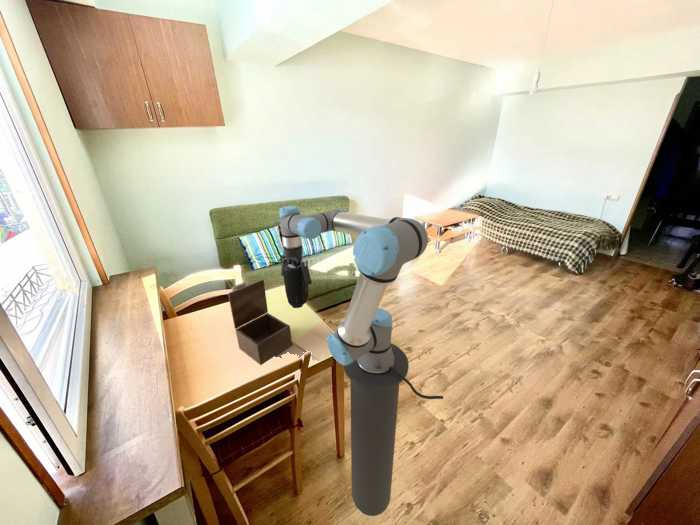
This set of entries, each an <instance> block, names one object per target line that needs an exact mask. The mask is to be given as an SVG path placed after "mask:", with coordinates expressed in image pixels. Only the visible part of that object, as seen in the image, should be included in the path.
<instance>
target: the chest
mask: <svg viewBox="0 0 700 525" xmlns="http://www.w3.org/2000/svg"><path fill="white" fill-rule="evenodd" d="M234 330H235V335H236V340H237V344H238V349H239V350H240V351H241V352H243V353H244V354H245V355H247V356H248V357H249V358H251V359H252V360H253V361H255V362H256V363H257V364H259V365H260V366H262V365H264V364H265V363H267V362H268V361H270V360H272V359H273V358H274V357H276V356H277V355H279V354H281V353H282V352H284V351H285V350H287V349H288V348H289V347H291V346H293V341H292V332H291V326H290V325H289V324H288V323H286V322H284V321H283V320H281V319H279V318H277V317H276V316H274V315H272V314H270V313H269V312H267V313H266V314H264V315H262V316H260V317H258V318H256V319H254V320H252V321H250V322H248V323H246V324H244V325H242V326H240V327H238V328H236V329H235V328H234Z"/></svg>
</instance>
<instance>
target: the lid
mask: <svg viewBox="0 0 700 525" xmlns="http://www.w3.org/2000/svg"><path fill="white" fill-rule="evenodd" d="M265 286H266V285H265V280H264V279H263V278H262V279H260V280H257V281H255V282H252V283H249V284H247V282H245V281H243V282H241V283H238V284H236V285H232V286H231V291H230V292H228V293H227V296H228V302H229V307H230V310H231V317H232V322H233V327H234V330H235V329H237V328H239V327H241V326H243V325H245V324H247V323H249V322H251V321H253V320H255V319H257V318H259V317H261V316H263V315H264V314H266V313H269V308H268V302H267V295H266V294H267V293H266V287H265Z"/></svg>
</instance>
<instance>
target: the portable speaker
mask: <svg viewBox="0 0 700 525" xmlns="http://www.w3.org/2000/svg"><path fill="white" fill-rule="evenodd" d="M300 265H301V264H300ZM300 265H299V266H297V267H295V266H293V265H292V264H288V263H287V262H286V263H285V264H284V276H283V282H284V290H285V295H286V299H287V303H288V304H289V306H291V307H292V309H301V308H302V307H303V306H304V305H305V304H306V303H307V301H308V298H306V299H305V300H303V298H302V285H303V284H302V280H301V276H303V273H302V269H301V266H300Z"/></svg>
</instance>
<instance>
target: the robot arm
mask: <svg viewBox="0 0 700 525" xmlns="http://www.w3.org/2000/svg"><path fill="white" fill-rule="evenodd" d="M278 213H279V223H280V232H281V240H282V241H281V242H282V246H283V247H282V249H283V250H282V251H283V255H281V271H280V275H281V277H284V264H285V263H286V262H287V263H288V264H292V265H293V266H295V267H297V266H299V265H300V264H301V265H300V266H301V269H302V273H303V276H301V280H302V284H303V285H302V298H303V300H305V299H306V298H307V299H308V298H309V291H310V290H309V286H310V285H312V283H313V282H312V277H311V272H310V269H309V263H308V260H303V257H302V256H303V254H304V248H303V245H302V244H303V239H308V240H315V239H316V238H318V236H320V235H321V234H323V233H328V232H336V233H342V234H345V235H346V234H347V235H351V236H355V237H356V239H355V241H354V244H353V249H352V255H353V256H354V258H353V260H354V263H355V265H356V268H357V270H358V272H359V274H358V278H357V281H356V285H355V287H354V290H353V294H352V296H351V300H350V303H349V306H348V308H347V311H346V314H345V317H344V318H342V319H341V320H340V321H339V322H338V325H337V328H336V331H335V332H333V333H330V334H329V335H328V336H327V338H326V344H327V348H328V351H329V353H330V355H331V356H332V357H333V359H334V360H335V361H336V362H337V363H338V364H339V365H341V366H342V367H343V366H347V365H349V364H351V363H353V362H354V361H355V360H357V364H358V366H359V368H360V369H361V370H363V371H364V372H366V373H369V374H373V375H380V374H385V373H387V372H389V371H390V370H392V371H393V372H394V373H395V374H397V375H398V376H399V377H400V378H401V379H403V382H405V383H406V384H407V385H408V386H409V387H410V389H411V390H412V392H413V393H414V394H415V395H416V396H418V397H419V398H421V399H426V400H444V396H443V395H424V394H423V393H420V392H418V391H417V390H416V388H415V387H414V385H413V384H412V383H411V382H410V380H408V379H407V377H405V378H404V377H403V376H402V375H401V374H399V373H398V372H397V371H396V370H394V369H393V366H394V354H393V352H392V349H391V343H392V332H393V330H392V329H393V317H392V314H391V313H390V312H389V311H387V310H386V309H384V308H381V307H380V305H381V302H382V300H383V297H384V295H385V292H386V290H387V287H388V286H389V284H392V283H394V282H395V281H396V280H397V278H398V277H399V275H400V272H401V270H402V267H403V266H404V265H405V264H407V263H409V262H411V261H414V260H416V259H418V258H419V257H420V256H422V255H423V253H424V252H425V251H426V249H427V246H428V243H429V236H428V231H427V229H426V228H425V226H424V225H423V224H422V223H421V222H420V221H418V220H416V219H413V218H407V217H400V216H394V217H392V218H382V217H376V216H370V215H362V214H356V213H349V212H346V211H345V210H344V209H342V208H341V209H332V210H327V211H323V212H318V213H313V214H312V213H311V214H308V215H304V214H301V212H300V208H299V206H297V205H287V206H286V205H285V206H282V207H280V208H279V212H278ZM302 238H303V239H302Z"/></svg>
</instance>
